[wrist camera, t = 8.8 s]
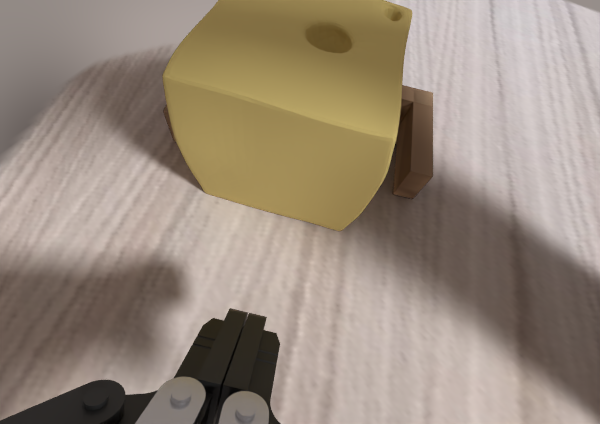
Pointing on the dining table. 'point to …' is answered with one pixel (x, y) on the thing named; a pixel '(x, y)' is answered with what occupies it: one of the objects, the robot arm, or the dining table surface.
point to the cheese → (291, 103)
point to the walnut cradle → (406, 142)
